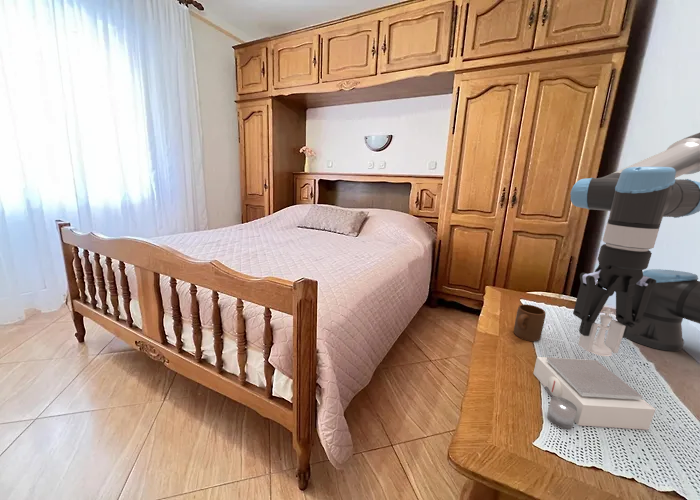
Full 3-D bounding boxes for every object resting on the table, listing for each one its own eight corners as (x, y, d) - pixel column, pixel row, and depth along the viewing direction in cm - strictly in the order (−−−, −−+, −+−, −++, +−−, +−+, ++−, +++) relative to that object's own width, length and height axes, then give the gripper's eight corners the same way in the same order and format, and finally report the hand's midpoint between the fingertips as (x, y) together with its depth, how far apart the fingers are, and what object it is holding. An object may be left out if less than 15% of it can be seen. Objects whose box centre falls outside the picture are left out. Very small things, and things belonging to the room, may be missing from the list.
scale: (588, 376, 74) (593, 358, 72) (648, 429, 58) (656, 407, 57) (531, 373, 74) (535, 355, 73) (575, 425, 59) (581, 403, 57)
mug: (527, 349, 85) (533, 320, 83) (502, 337, 91) (507, 310, 89) (544, 337, 92) (550, 310, 90) (519, 327, 98) (524, 302, 96)
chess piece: (617, 358, 60) (630, 315, 58) (591, 354, 61) (602, 312, 59) (602, 345, 65) (614, 304, 63) (578, 342, 66) (588, 302, 64)
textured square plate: (595, 363, 71) (596, 360, 70) (641, 399, 59) (642, 396, 59) (546, 360, 71) (546, 357, 71) (581, 396, 59) (582, 392, 59)
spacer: (562, 412, 62) (565, 396, 61) (578, 429, 58) (582, 412, 57) (542, 412, 62) (545, 396, 61) (557, 429, 58) (561, 412, 57)
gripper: (654, 244, 61) (624, 341, 66) (567, 240, 61) (545, 337, 67) (693, 253, 53) (656, 361, 59) (594, 249, 54) (567, 356, 60)
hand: (597, 348), depth 63 cm, fingers closed on chess piece, 5 cm apart
